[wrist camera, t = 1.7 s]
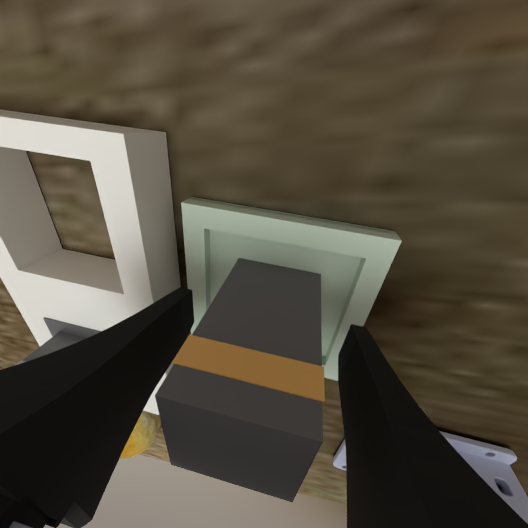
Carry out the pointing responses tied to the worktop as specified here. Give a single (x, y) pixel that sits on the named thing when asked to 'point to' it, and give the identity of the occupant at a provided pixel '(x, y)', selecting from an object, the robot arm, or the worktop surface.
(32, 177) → the strip
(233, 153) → the worktop surface
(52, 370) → the robot arm
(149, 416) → the bread roll
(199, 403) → the plug
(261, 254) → the tray
